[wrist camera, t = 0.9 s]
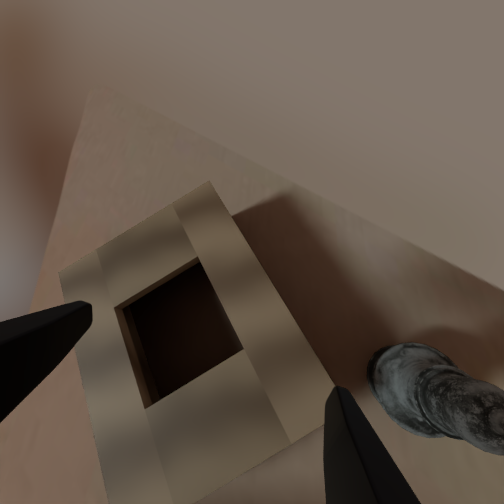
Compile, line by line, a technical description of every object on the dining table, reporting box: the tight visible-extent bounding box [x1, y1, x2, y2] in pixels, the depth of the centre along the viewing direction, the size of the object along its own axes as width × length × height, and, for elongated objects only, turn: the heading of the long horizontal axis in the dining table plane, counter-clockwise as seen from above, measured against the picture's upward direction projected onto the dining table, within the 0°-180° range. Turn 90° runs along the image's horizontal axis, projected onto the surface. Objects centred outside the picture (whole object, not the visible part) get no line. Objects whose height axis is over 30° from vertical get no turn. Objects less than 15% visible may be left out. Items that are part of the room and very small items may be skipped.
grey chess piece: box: [367, 342, 504, 455], centre depth 15 cm, size 6×6×12 cm
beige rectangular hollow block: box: [58, 181, 335, 504], centre depth 21 cm, size 20×16×7 cm
